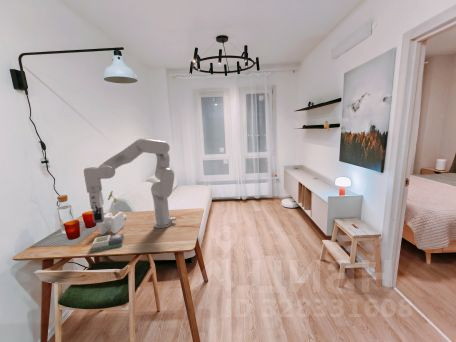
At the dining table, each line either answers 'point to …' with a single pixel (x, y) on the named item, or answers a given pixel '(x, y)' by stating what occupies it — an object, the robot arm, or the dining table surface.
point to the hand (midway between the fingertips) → (99, 217)
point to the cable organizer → (111, 223)
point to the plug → (101, 215)
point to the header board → (107, 242)
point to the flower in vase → (115, 205)
